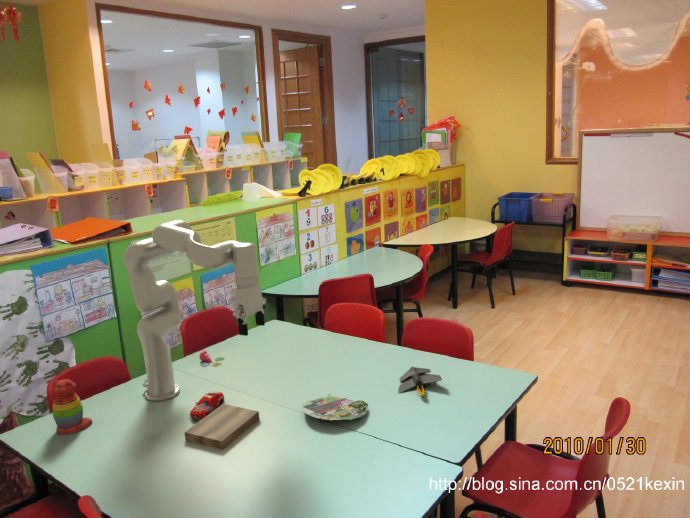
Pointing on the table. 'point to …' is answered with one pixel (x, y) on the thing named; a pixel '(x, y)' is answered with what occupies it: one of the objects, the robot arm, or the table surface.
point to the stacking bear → (68, 408)
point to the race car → (207, 405)
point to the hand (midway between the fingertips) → (252, 329)
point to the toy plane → (417, 380)
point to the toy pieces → (209, 359)
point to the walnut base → (222, 426)
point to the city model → (334, 408)
